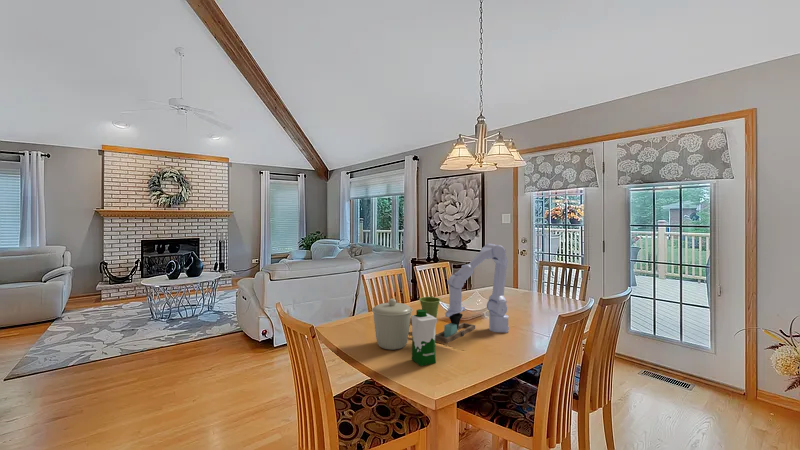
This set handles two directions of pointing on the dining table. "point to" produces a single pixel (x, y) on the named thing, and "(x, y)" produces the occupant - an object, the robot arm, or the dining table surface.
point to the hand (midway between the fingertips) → (455, 328)
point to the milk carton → (423, 338)
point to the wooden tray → (461, 333)
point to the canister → (392, 324)
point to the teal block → (450, 329)
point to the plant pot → (430, 305)
